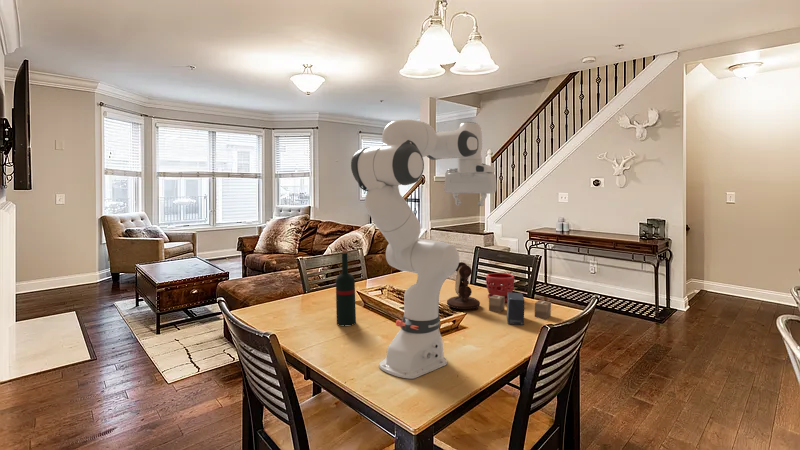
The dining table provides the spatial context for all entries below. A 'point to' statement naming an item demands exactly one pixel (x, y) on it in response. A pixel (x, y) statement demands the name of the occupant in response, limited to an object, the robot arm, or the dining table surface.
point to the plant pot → (499, 284)
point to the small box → (515, 308)
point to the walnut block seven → (496, 303)
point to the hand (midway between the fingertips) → (469, 205)
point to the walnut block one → (543, 309)
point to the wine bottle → (345, 295)
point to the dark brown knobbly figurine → (463, 290)
